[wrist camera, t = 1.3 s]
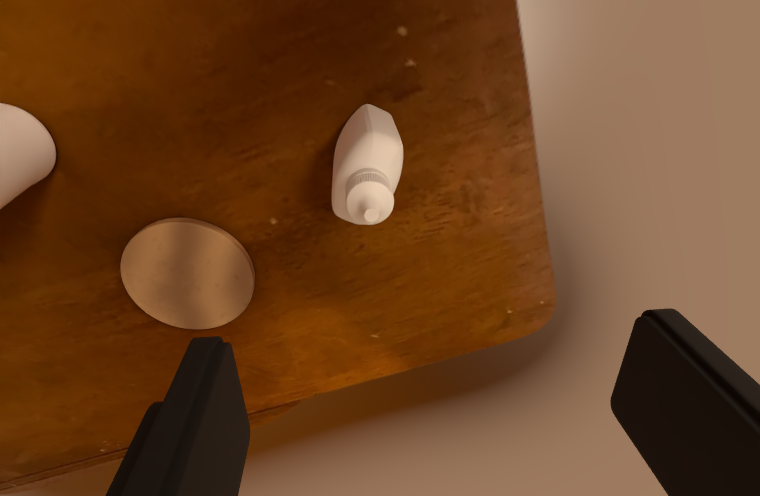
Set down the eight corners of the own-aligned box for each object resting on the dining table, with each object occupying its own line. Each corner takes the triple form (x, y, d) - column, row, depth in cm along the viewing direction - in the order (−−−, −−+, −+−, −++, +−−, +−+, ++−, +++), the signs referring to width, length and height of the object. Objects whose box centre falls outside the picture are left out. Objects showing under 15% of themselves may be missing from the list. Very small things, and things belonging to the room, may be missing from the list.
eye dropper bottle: (311, 143, 31) (294, 215, 21) (376, 93, 30) (394, 143, 19) (349, 189, 33) (352, 277, 23) (412, 144, 32) (446, 215, 21)
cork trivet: (244, 214, 33) (242, 218, 33) (263, 320, 38) (262, 326, 38) (107, 220, 33) (102, 225, 32) (144, 327, 38) (140, 333, 37)
